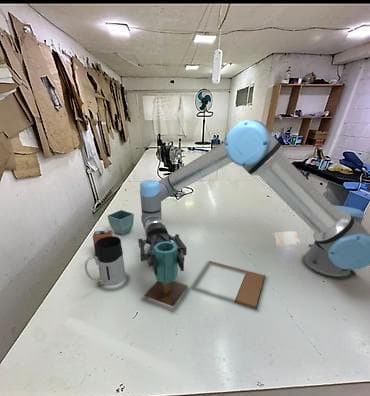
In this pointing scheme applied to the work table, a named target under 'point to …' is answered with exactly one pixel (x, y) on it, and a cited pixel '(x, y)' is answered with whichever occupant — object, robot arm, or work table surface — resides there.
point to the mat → (247, 287)
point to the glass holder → (109, 261)
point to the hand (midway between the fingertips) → (169, 268)
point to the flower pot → (121, 221)
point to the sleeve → (166, 261)
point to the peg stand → (166, 292)
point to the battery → (100, 236)
